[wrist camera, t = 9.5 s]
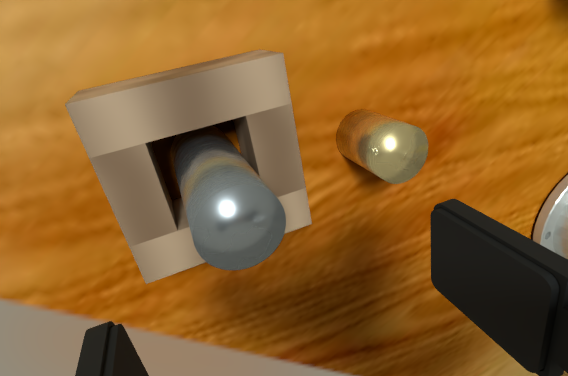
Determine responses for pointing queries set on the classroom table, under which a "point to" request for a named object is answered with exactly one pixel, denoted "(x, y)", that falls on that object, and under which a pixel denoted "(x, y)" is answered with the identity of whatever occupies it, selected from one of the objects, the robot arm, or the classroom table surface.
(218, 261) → the long steel pin
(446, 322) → the classroom table surface
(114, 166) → the beige socket block
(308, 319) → the classroom table surface
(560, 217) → the robot arm
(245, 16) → the classroom table surface
